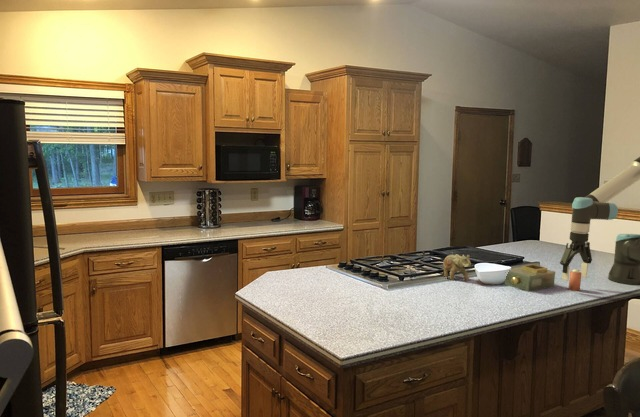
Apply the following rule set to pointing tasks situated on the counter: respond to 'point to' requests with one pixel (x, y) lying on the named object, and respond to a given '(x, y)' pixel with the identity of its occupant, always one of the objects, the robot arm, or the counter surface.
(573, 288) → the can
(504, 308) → the counter surface
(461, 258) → the figurine
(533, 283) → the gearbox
